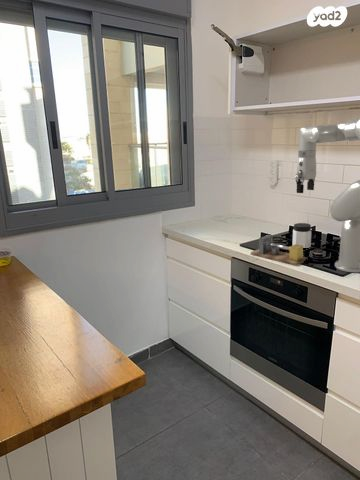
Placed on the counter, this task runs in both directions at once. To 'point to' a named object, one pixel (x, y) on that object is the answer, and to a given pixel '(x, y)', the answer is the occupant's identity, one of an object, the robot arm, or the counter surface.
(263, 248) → the grey arch
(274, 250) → the cradle
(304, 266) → the counter surface
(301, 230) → the jar
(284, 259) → the board
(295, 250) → the hook rod
